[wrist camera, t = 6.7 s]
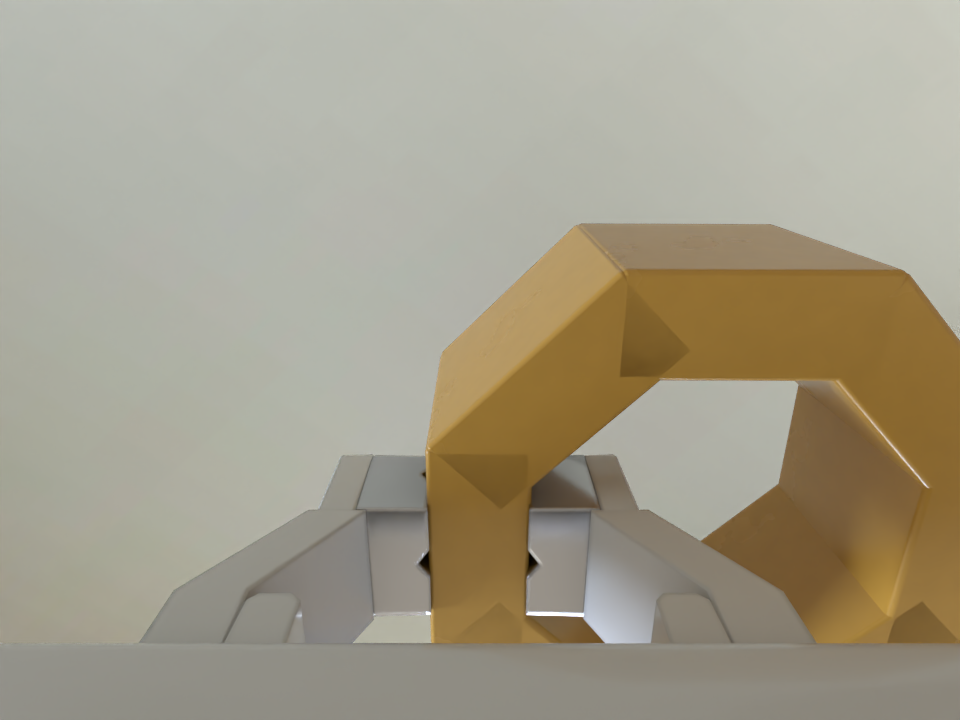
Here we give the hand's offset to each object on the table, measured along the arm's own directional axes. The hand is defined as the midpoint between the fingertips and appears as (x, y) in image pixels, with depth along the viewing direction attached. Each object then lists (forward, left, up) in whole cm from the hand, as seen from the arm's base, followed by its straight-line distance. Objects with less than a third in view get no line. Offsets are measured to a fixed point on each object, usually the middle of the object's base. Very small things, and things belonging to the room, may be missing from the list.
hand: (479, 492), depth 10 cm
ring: (+3, 0, -2) cm, 4 cm away
